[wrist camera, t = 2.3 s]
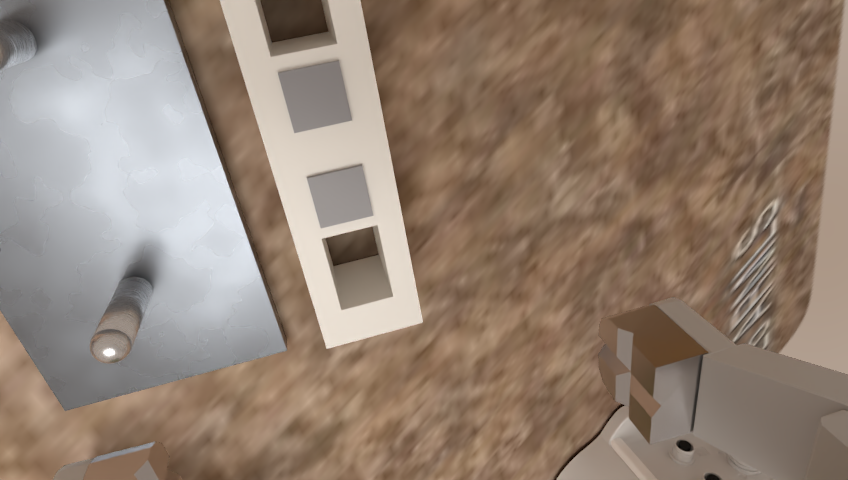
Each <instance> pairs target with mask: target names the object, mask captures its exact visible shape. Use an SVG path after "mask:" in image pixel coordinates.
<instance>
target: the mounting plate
mask: <svg viewBox="0 0 848 480" xmlns="http://www.w3.org/2000/svg"><path fill="white" fill-rule="evenodd" d="M0 311H1V312H2V314H3V315H4V317H5V318H6V320H7V322H8V323H9V325H10V326H11V328H12V329H13V331H14V332H15V334H16V336H17V337H18V339H19V340H20V342H21V343H22V345H23V346H24V348H25V349H26V351H27V353H28V354H29V356H30V357H31V359H32V360H33V362H34V363H35V365H36V367H37V368H38V370H39V371H40V373H41V374H42V376H43V377H44V379H45V381H46V382H47V384H48V385H49V387H50V388H51V390H52V391H53V393H54V394H55V396H56V398H57V399H58V401H59V402H60V404H61V405H62V407H63V408H64V410H65V411H67V410H70V409H74V408H78V407H81V406H85V405H89V404H92V403H96V402H100V401H103V400H107V399H111V398H114V397H118V396H122V395H125V394H129V393H133V392H136V391H140V390H144V389H147V388H151V387H155V386H159V385H162V384H166V383H170V382H173V381H177V380H181V379H184V378H188V377H192V376H195V375H199V374H203V373H206V372H210V371H214V370H217V369H221V368H225V367H228V366H232V365H236V364H239V363H243V362H247V361H251V360H254V359H258V358H262V357H265V356H269V355H273V354H276V353H280V352H284V351H287V339H286V336H285V333H284V331H283V328H282V325H281V322H280V319H279V316H278V313H277V310H276V308H275V305H274V302H273V299H272V296H271V293H270V290H269V288H268V285H267V282H266V279H265V276H264V273H263V270H262V267H261V265H260V262H259V259H258V256H257V253H256V250H255V247H254V244H253V242H252V239H251V236H250V233H249V230H248V227H247V224H246V222H245V219H244V216H243V213H242V210H241V207H240V204H239V201H238V199H237V196H236V193H235V190H234V187H233V184H232V181H231V179H230V176H229V173H228V170H227V167H226V164H225V161H224V158H223V156H222V153H221V150H220V147H219V144H218V141H217V138H216V136H215V133H214V130H213V127H212V124H211V121H210V118H209V115H208V113H207V110H206V107H205V104H204V101H203V98H202V95H201V93H200V90H199V87H198V84H197V81H196V78H195V75H194V72H193V70H192V67H191V64H190V61H189V58H188V55H187V52H186V49H185V47H184V44H183V41H182V38H181V35H180V32H179V29H178V27H177V24H176V21H175V18H174V15H173V12H172V9H171V6H170V4H169V1H168V0H0Z"/></svg>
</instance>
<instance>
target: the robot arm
mask: <svg viewBox="0 0 848 480" xmlns="http://www.w3.org/2000/svg"><path fill="white" fill-rule="evenodd" d="M599 337H600V338H601V339H602V340H603V341H604V343H605V345H604V346H603V348H602V349H601V351H600V352H599V354H598V359H599V370H600V374H601V377H602V380H603V383H604V385H605V386H606V388H607V390H608V392H609V393H610V395H611V396H612V397H613V399H614V400H615V401H617V402H619V403H621V404H623V405H625V406H623V407H621V408H620V409H619V410H617V411H616V413H615V414H614V415H613V416H612V417H611V419H610V420H609V421H608V423H607V424H606V426H605V427H604V429H603V431H602V432H601V434H600V435H599V436H598V437H597V438H596V439H595V440H594V441H593V442H592V443H591V444H589V445H588V446H587V447H586V448H585V449H583V450H582V451H581V452H580V453H579V454H578V455H577V456H575V457H574V458H573V459H572V460H571V461H570V462H569V464H568V465H567V466H566V467H565V468H564V469H563V471H562V472H561V473H560V475H559V476H558V478H557V479H556V480H848V374H844V373H841V372H838V371H834V370H831V369H828V368H824V367H821V366H818V365H815V364H811V363H808V362H804V361H801V360H798V359H795V358H791V357H788V356H785V355H781V354H778V353H775V352H771V351H768V350H765V349H762V348H758V347H755V346H752V345H748V344H745V343H743V344H740V345H736V344H735V343H733V342H732V341H731V340H730V339H728V338H727V337H726V336H725V335H724V334H722V333H721V332H720V331H719V330H717V329H716V328H715V327H714V326H712V325H711V324H710V323H709V322H708V321H706V320H705V319H704V318H703V317H701V316H700V315H699V314H698V313H697V312H695V311H694V310H693V309H692V308H690V307H689V306H688V305H687V304H685V303H684V302H683V301H682V300H680V299H678V298H674V297H672V298H669V299H665V300H662V301H659V302H655V303H652V304H649V305H648V306H643V307H640V308H636V309H633V310H629V311H626V312H622V313H619V314H615V315H612V316H608V317H605V318H602V319H601V321H600V324H599ZM169 458H170V456H169V454H168V452H167V451H166V449H165V447H164V445H163V444H162V443H160V442H153V443H149V444H145V445H141V446H137V447H133V448H129V449H125V450H121V451H117V452H113V453H109V454H105V455H101V456H97V457H95V458H92V459H88V460H84V461H80V462H76V463H72V464H68V465H64V466H63V467H62V468H61V469H60V470H59V471H57V472H56V474H55V476H54V478H53V480H182V479H181V477H180V475H179V474H178V473H176V472H174V471H171V470H169V469H167V468H168V463H169Z"/></svg>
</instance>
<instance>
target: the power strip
mask: <svg viewBox="0 0 848 480" xmlns="http://www.w3.org/2000/svg"><path fill="white" fill-rule="evenodd" d="M321 1H322V6H323V10H324V14H325V19H326V23H327V28H328V32H324V33H318V34H313V35H308V36H303V37H298V38H293V39H288V40H283V41H278V42H273V43H272V41H271V38H270V34H269V30H268V27H267V23H266V19H265V16H264V12H263V8H262V5H261V1H260V0H220V3H221V6H222V9H223V13H224V16H225V19H226V22H227V26H228V29H229V32H230V35H231V39H232V42H233V45H234V48H235V52H236V55H237V58H238V61H239V65H240V68H241V71H242V74H243V78H244V81H245V84H246V87H247V91H248V94H249V97H250V100H251V104H252V107H253V110H254V113H255V117H256V120H257V123H258V126H259V130H260V133H261V136H262V139H263V143H264V146H265V149H266V152H267V156H268V159H269V162H270V165H271V169H272V172H273V175H274V178H275V182H276V185H277V188H278V191H279V195H280V198H281V201H282V204H283V208H284V211H285V214H286V217H287V221H288V224H289V227H290V230H291V234H292V237H293V240H294V243H295V247H296V250H297V253H298V257H299V260H300V263H301V266H302V270H303V273H304V276H305V279H306V283H307V286H308V289H309V292H310V296H311V299H312V302H313V305H314V309H315V312H316V315H317V318H318V322H319V325H320V328H321V331H322V335H323V338H324V341H325V344H326V348H327V349H328V348H332V347H336V346H339V345H343V344H347V343H350V342H354V341H357V340H361V339H365V338H368V337H372V336H376V335H379V334H383V333H387V332H390V331H394V330H398V329H401V328H405V327H409V326H412V325H416V324H420V323H423V320H422V315H421V310H420V304H419V299H418V294H417V289H416V284H415V279H414V274H413V268H412V263H411V258H410V253H409V248H408V243H407V237H406V232H405V227H404V222H403V217H402V212H401V207H400V201H399V196H398V191H397V186H396V181H395V176H394V171H393V165H392V160H391V155H390V150H389V145H388V140H387V135H386V129H385V124H384V119H383V114H382V109H381V104H380V99H379V93H378V88H377V83H376V78H375V73H374V68H373V63H372V57H371V52H370V47H369V42H368V37H367V32H366V26H365V21H364V16H363V11H362V6H361V1H360V0H321ZM368 227H373V232H374V236H375V240H376V245H377V249H378V254H379V255H375V256H371V257H368V258H364V259H360V260H356V261H352V262H348V263H344V264H340V265H336V266H333V263H332V259H331V256H330V252H329V249H328V245H327V241H326V238H327V237H331V236H335V235H339V234H343V233H347V232H351V231H355V230H359V229H364V228H368Z"/></svg>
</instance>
